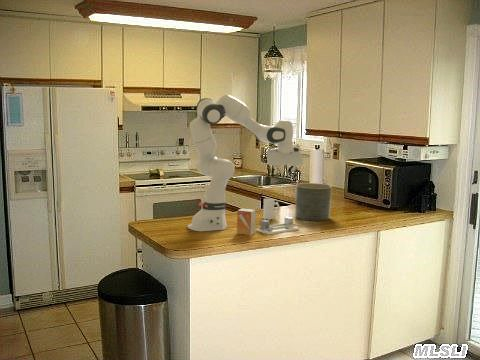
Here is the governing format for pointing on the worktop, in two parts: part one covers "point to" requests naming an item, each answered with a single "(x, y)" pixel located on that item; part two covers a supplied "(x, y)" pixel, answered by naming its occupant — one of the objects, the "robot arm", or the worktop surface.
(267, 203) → the mug
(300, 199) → the planter
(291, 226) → the gauge board
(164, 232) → the worktop surface
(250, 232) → the small box
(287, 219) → the sliding leg
